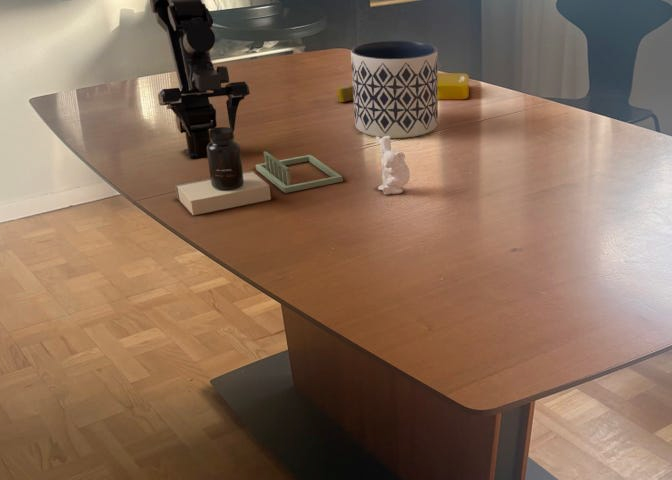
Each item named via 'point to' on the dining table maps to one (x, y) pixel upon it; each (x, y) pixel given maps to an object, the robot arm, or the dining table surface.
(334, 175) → the dish rack
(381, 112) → the planter
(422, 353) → the dining table surface
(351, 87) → the medication box
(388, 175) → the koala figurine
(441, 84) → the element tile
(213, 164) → the supplement bottle
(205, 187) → the cream bevelled block
